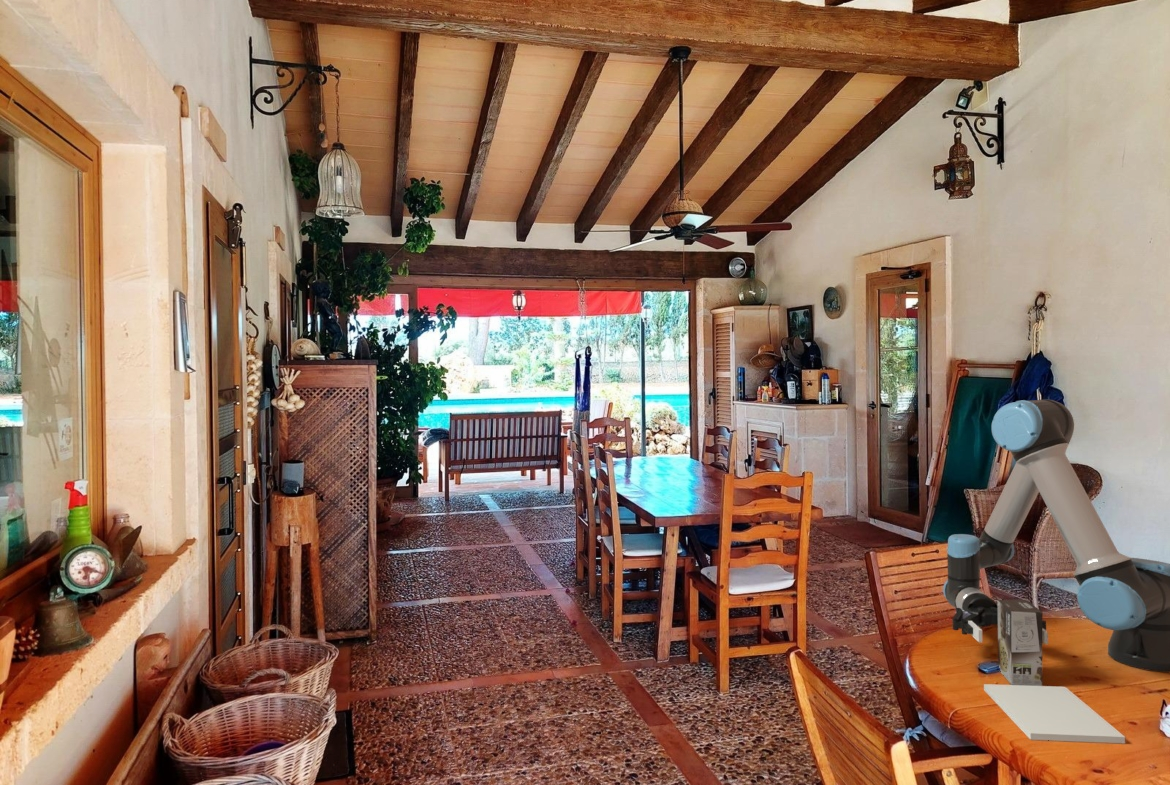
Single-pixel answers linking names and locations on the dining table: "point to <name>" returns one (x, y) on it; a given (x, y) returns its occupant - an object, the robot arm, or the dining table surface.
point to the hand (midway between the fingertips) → (1013, 637)
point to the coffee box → (1020, 642)
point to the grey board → (1052, 714)
